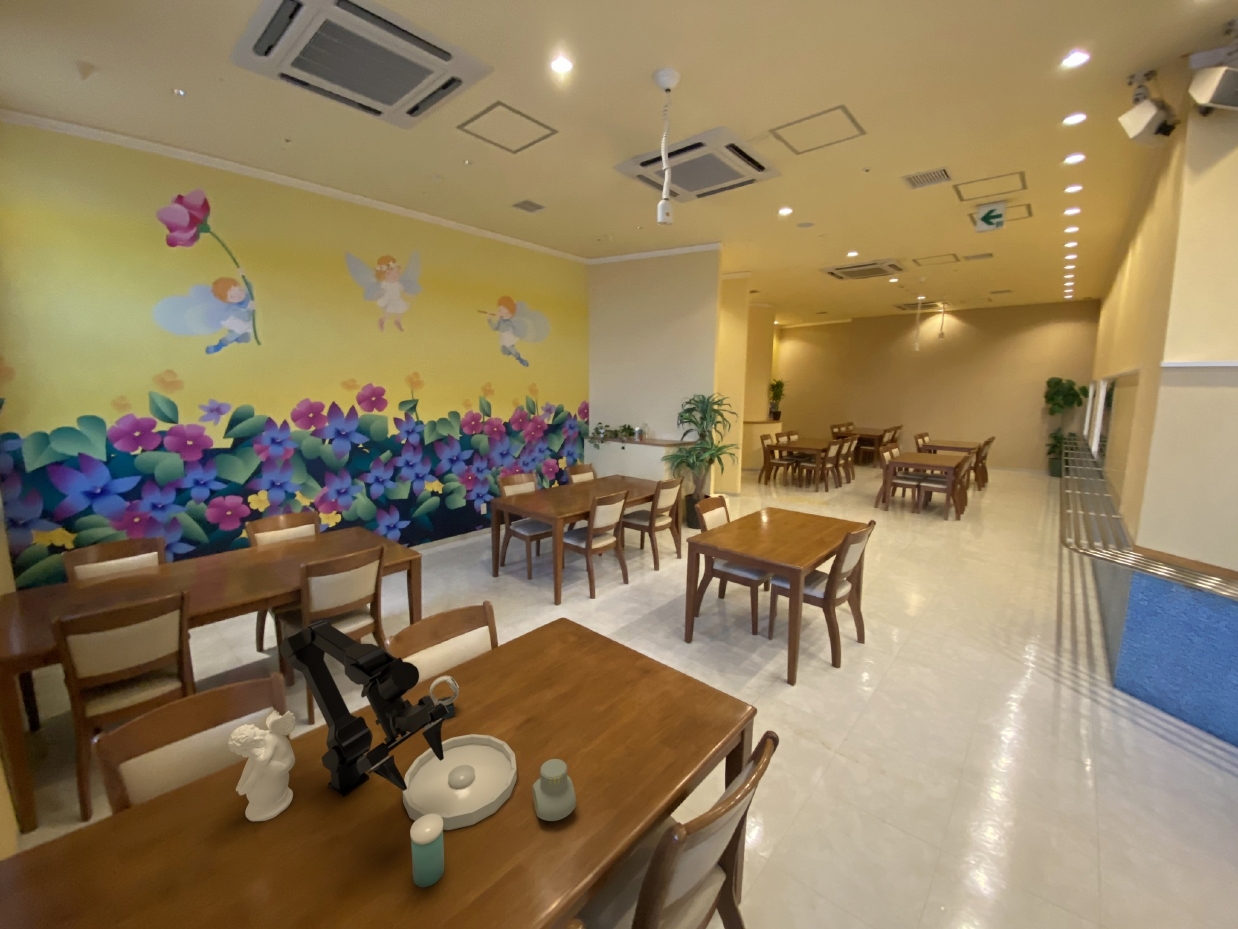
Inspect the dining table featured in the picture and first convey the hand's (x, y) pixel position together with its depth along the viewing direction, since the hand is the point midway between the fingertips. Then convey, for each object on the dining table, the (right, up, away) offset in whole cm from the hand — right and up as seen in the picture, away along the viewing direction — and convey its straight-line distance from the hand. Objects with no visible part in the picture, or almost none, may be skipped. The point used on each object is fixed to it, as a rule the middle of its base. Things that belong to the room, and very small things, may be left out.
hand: (424, 774), depth 101 cm
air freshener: (+25, -13, +9) cm, 30 cm away
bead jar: (+3, -15, -7) cm, 17 cm away
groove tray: (+3, -11, +15) cm, 19 cm away
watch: (-10, -8, +40) cm, 42 cm away
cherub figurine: (-38, -12, +10) cm, 41 cm away
